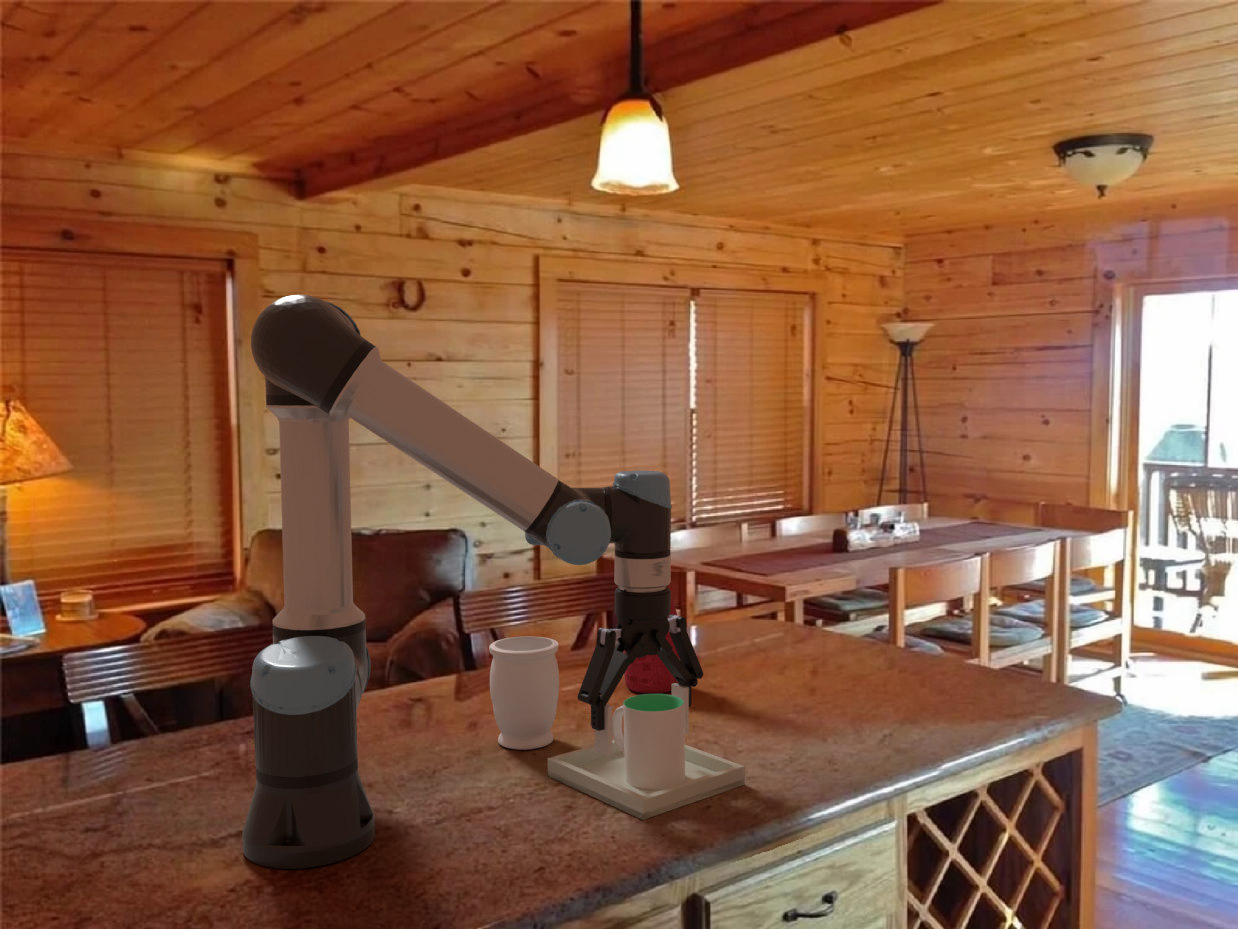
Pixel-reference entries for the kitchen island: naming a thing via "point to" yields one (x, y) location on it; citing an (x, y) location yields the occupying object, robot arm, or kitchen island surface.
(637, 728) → the mug
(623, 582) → the robot arm
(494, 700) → the jar
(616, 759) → the tray
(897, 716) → the kitchen island surface
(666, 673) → the wine bottle
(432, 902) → the kitchen island surface
